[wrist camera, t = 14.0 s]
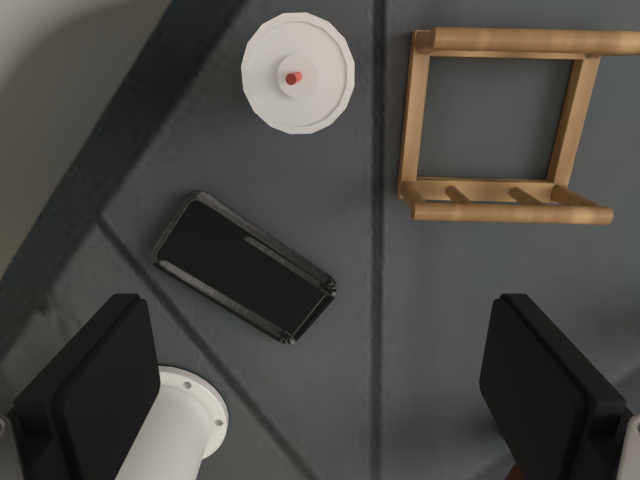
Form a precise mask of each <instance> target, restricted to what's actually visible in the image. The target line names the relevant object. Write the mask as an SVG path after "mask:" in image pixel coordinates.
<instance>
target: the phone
mask: <svg viewBox="0 0 640 480" xmlns="http://www.w3.org/2000/svg"><path fill="white" fill-rule="evenodd" d="M150 259H151V262H152V263H153V265H154V266H156V267H157V268H158V269H160V270H162V271H163V272H165V273H167V274H168V275H170V276H172V277H173V278H175V279H176V280H178V281H180V282H181V283H183V284H185V285H186V286H188V287H190V288H191V289H193V290H195V291H196V292H198V293H200V294H201V295H203V296H204V297H206V298H208V299H209V300H211V301H213V302H214V303H216V304H218V305H219V306H221V307H223V308H224V309H226V310H228V311H229V312H231V313H232V314H234V315H236V316H237V317H239V318H241V319H242V320H244V321H246V322H247V323H249V324H251V325H252V326H254V327H256V328H257V329H259V330H260V331H262V332H264V333H265V334H267V335H269V336H270V337H272V338H274V339H275V340H277V341H279V342H280V343H283V344H293V343H295V342H296V341H297V340H298V339H299V338H300V337H301V336H302V335H303V334H304V332H305V331H306V330H307V329H308V328H309V327H310V326H311V324H312V323H313V322H314V321H315V320H316V319H317V318H318V316H319V315H320V314H321V313H322V312H323V311H324V310H325V308H326V307H327V306H328V305H329V304H330V303H331V302H332V301H333V299H334V298H335V296H336V283H335V281H334V279H333V278H332V277H331V276H329V275H328V274H326V273H325V272H323V271H322V270H320V269H319V268H317V267H316V266H314V265H313V264H311V263H310V262H308V261H307V260H305V259H304V258H302V257H301V256H299V255H298V254H296V253H295V252H293V251H292V250H290V249H289V248H287V247H286V246H284V245H283V244H281V243H280V242H279V241H277V240H276V239H274V238H273V237H271V236H270V235H268V234H267V233H265V232H264V231H262V230H261V229H259V228H258V227H256V226H255V225H253V224H252V223H250V222H249V221H247V220H246V219H244V218H243V217H241V216H240V215H238V214H237V213H235V212H234V211H232V210H231V209H229V208H228V207H226V206H225V205H223V204H222V203H220V202H219V201H217V200H216V199H214V198H213V197H211V196H210V195H209V194H207V193H205V192H202V191H195V192H192V193H191V194H190V195H188V196H187V197H186V198H185V200H184V201H183V202H182V204H181V205H180V207H179V208H178V210H177V212H176V213H175V215H174V216H173V218H172V219H171V221H170V222H169V224H168V226H167V227H166V229H165V230H164V232H163V233H162V235H161V236H160V238H159V240H158V241H157V243H156V244H155V246H154V247H153V249H152V250H151V253H150Z"/></svg>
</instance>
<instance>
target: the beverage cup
mask: <svg viewBox="0 0 640 480" xmlns="http://www.w3.org/2000/svg"><path fill="white" fill-rule="evenodd" d="M241 71H242V81H243V91H244V93H245V95H246V97H247V99H248V101H249V103H250V105H251V107H252V109H253V111H254V112H255V113H256V114H257V115H258V116H259V117H261V118H262V119H263V120H264V121H265V122H266V123H267V124H268V125H269V126H270V127H273V128H276V129H278V130H281V131H283V132H286V133H289V134H310V133H314V132H316V131H318V130H320V129H322V128H324V127H327V126H329V125H331V124H332V123H333V122H334V121H335V120H336V118H337V117H338V116H339V115H340V114H341V113H342V112H343V111H344V110H345V109H346V107H347V104H348V102H349V99H350V96H351V94H352V91H353V89H354V60H353V58H352V55H351V53H350V50H349V47H348V45H347V42H346V40H345V39H344V37H343V36H342V35H341V34H340V33H339V32H338V31H337V30H336V29H335V28H334V27H333V26H332V25H331V24H330V23H329V22H328V21H326V20H323V19H321V18H319V17H316V16H314V15H311V14H309V13H283V14H281V15H279V16H277V17H275V18H273V19H272V20H270V21H268V22H266V23H264V24H262V25H261V27H260V28H259V29H258V30H257V32H256V33H255V34H254V36H253V37H252V38H251V39H250V41H249V42H248V43H247V47H246V50H245V54H244V58H243V61H242V65H241Z"/></svg>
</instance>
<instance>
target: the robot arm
mask: <svg viewBox="0 0 640 480" xmlns="http://www.w3.org/2000/svg"><path fill="white" fill-rule="evenodd" d="M479 385H480V390H481V393H482V396H483V398H484V400H485V402H486V404H487V406H488V408H489V410H490V411H491V413H492V415H493V417H494V419H495V421H496V423H497V425H498V427H499V429H500V431H501V433H502V435H503V437H504V439H505V441H506V443H507V445H508V447H509V449H510V451H511V453H512V455H513V457H514V459H515V461H516V463H517V465H518V467H519V469H520V471H521V473H522V475H523V477H524V479H525V480H640V414H637V415H635V416H634V414H633V413H632V412H631V411H630V410H629V409H628V408H627V407H626V406H625V405H626V402H627V401H626V400H625V399H624V398H623V397H622V395H621V394H620V393H619V392H618V391H617V390H616V389H615V388H614V387H613V386H612V385H611V384H610V383H609V382H608V381H607V380H606V378H605V377H604V376H603V375H602V374H601V373H600V372H599V371H598V370H597V369H596V368H595V367H594V366H593V365H592V364H591V362H590V361H589V360H588V359H587V358H586V357H585V356H584V355H583V354H582V353H581V352H580V351H579V350H578V349H577V348H576V347H575V345H574V344H573V343H572V342H571V341H570V340H569V339H568V338H567V337H566V336H565V335H564V334H563V333H562V332H561V331H560V330H559V328H558V327H557V326H556V325H555V324H554V323H553V322H552V321H551V320H550V319H549V318H548V317H547V316H546V315H545V314H544V312H543V311H542V310H541V309H540V308H539V307H538V306H537V305H536V304H535V303H534V302H533V301H532V300H531V299H530V298H529V297H528V296H527V295H526V294H502V295H501V296H500V298H499V299H495V300H494V302H493V305H492V311H491V316H490V322H489V328H488V334H487V339H486V345H485V351H484V357H483V362H482V368H481V374H480V380H479ZM13 402H14V405H15V406H14V407H13V408H12V409H11V410H10V411H9V412H8V413H7V414H6V416H5V415H3V414H0V480H196V477H197V474H198V470H199V467H200V464H201V461H202V459H204V458H206V457H208V456H209V455H211V454H212V453H213V452H215V451H216V450H217V449H218V448H219V446H220V445H221V443H222V442H223V440H224V437H225V435H226V431H227V427H228V411H227V408H226V405H225V403H224V401H223V399H222V397H221V396H220V394H219V393H218V392H217V391H216V390H215V388H214V387H212V386H211V385H210V384H209V383H208V382H207V381H205V380H203V379H202V378H200V377H199V376H197V375H195V374H193V373H190V372H188V371H185V370H182V369H178V368H174V367H167V366H158V362H157V357H156V351H155V345H154V339H153V334H152V328H151V322H150V316H149V311H148V305H147V302H146V300H145V299H141V298H140V296H139V295H138V294H114V295H113V296H112V297H111V298H110V299H109V300H108V301H107V302H106V303H105V304H104V305H103V306H102V307H101V308H100V309H99V310H98V311H97V312H96V314H95V315H94V316H93V317H92V318H91V319H90V320H89V321H88V322H87V323H86V324H85V325H84V326H83V327H82V328H81V330H80V331H79V332H78V333H77V334H76V335H75V336H74V337H73V338H72V339H71V340H70V341H69V342H68V343H67V344H66V345H65V347H64V348H63V349H62V350H61V351H60V352H59V353H58V354H57V355H56V356H55V357H54V358H53V359H52V360H51V361H50V362H49V364H48V365H47V366H46V367H45V368H44V369H43V370H42V371H41V372H40V373H39V374H38V375H37V376H36V377H35V378H34V380H33V381H32V382H31V383H30V384H29V385H28V386H27V387H26V388H25V389H24V390H23V391H22V392H21V393H20V394H19V395H18V397H17V398H16V399H15V400H14V401H13Z"/></svg>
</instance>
